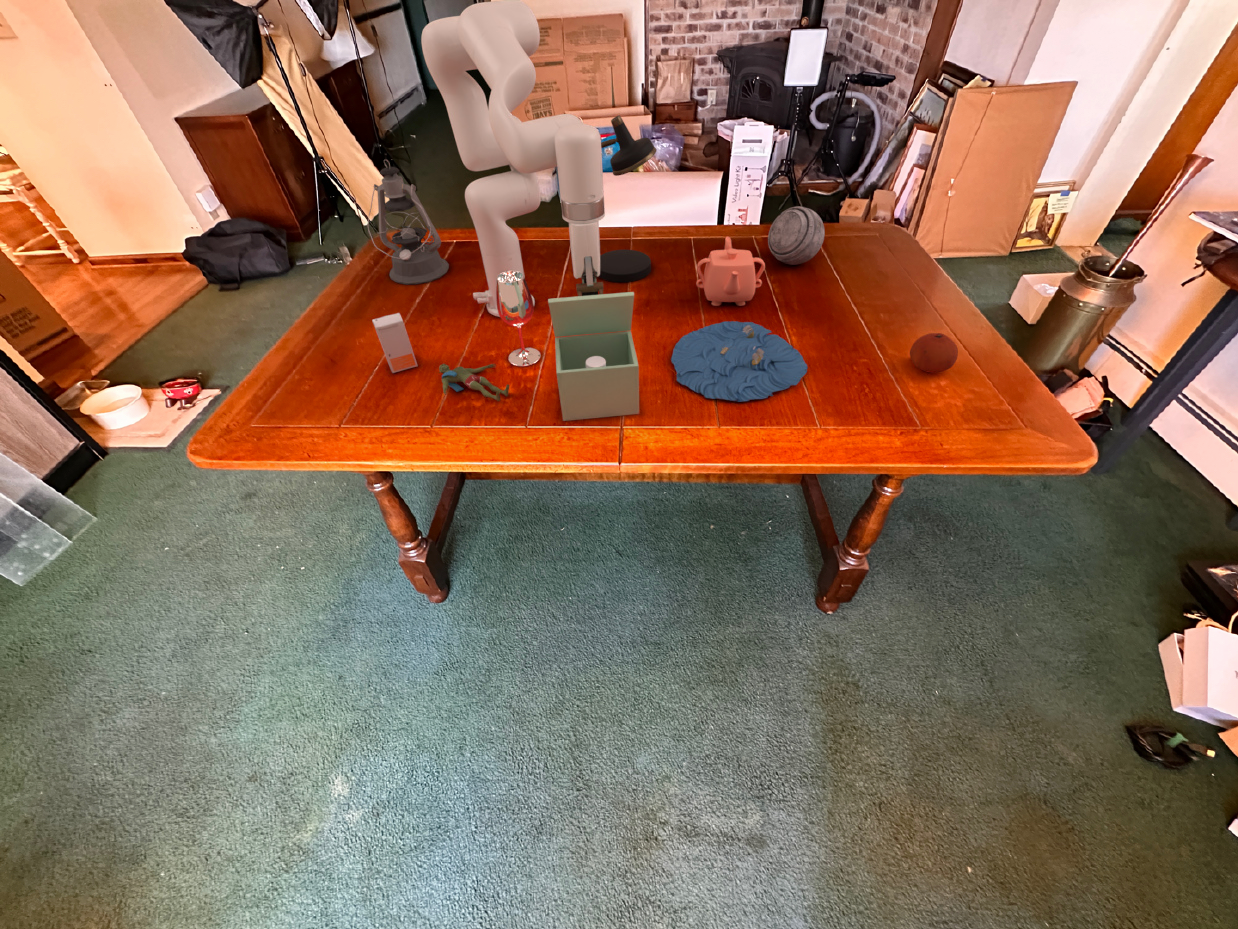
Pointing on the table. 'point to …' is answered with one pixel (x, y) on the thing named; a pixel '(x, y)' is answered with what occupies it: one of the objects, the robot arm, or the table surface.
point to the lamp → (628, 158)
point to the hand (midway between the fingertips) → (590, 302)
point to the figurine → (469, 380)
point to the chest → (597, 376)
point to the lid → (591, 312)
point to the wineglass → (516, 312)
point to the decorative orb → (796, 235)
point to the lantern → (407, 234)
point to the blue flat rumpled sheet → (736, 362)
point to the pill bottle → (595, 362)
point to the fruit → (934, 352)
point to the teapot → (729, 275)
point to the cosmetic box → (395, 342)
